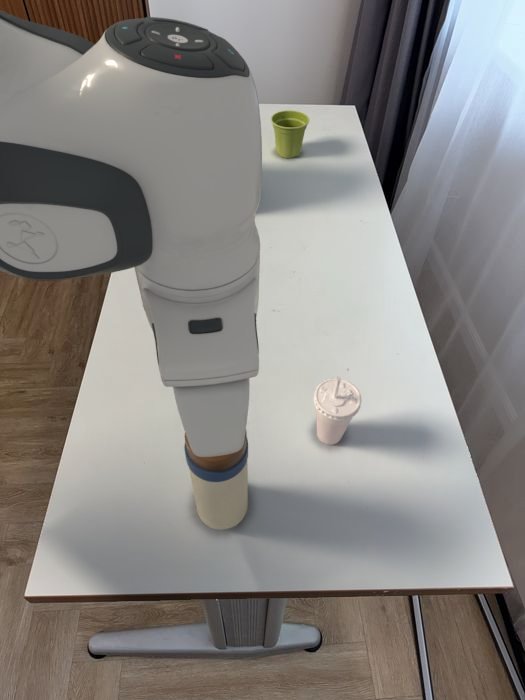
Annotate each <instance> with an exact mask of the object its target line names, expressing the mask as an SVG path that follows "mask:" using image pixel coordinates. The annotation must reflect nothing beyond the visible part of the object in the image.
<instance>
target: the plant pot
mask: <svg viewBox="0 0 525 700" xmlns="http://www.w3.org/2000/svg"><path fill="white" fill-rule="evenodd" d="M270 122H271V124H272V128H273V132H274V140H275V141H274V142H275V151H276V154H277V155H278V156H279V157H281V158H285V159H292V158H294V157H299V156H300V155H301V152H302V146H303V143H304V136H305V132H306V130H307V128H308V125H309V123H310V117H309V116H308V115H307V114H306V113H304V112H302V111H299V110H292V109H291V110H290V109H288V110H280V111H277V112H274V113H273V114H272V115H271V116H270Z"/></svg>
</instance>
